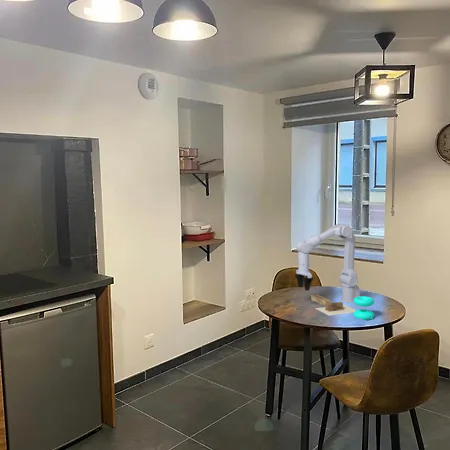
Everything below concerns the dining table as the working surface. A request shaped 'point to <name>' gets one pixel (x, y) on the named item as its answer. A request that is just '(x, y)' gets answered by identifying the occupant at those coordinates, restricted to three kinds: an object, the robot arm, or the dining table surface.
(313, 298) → the bar
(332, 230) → the robot arm
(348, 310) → the board
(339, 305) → the block
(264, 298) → the dining table surface
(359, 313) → the donuts
